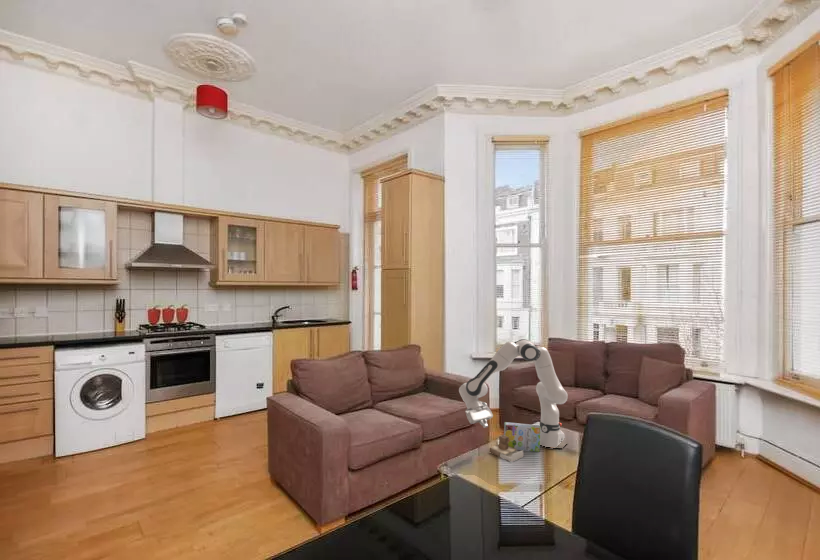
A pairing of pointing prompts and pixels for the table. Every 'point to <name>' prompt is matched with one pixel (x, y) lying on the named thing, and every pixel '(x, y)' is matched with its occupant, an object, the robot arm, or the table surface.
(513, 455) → the tray
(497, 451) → the birch board
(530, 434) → the snack box
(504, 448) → the walnut block
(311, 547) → the table surface
